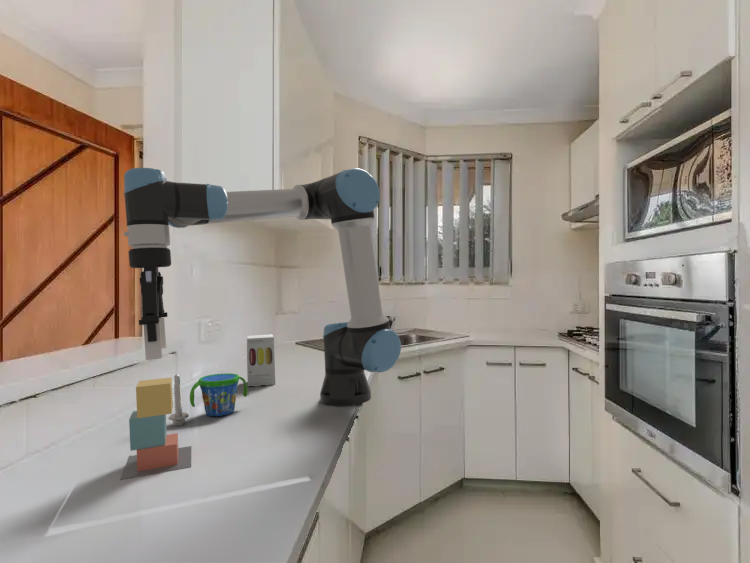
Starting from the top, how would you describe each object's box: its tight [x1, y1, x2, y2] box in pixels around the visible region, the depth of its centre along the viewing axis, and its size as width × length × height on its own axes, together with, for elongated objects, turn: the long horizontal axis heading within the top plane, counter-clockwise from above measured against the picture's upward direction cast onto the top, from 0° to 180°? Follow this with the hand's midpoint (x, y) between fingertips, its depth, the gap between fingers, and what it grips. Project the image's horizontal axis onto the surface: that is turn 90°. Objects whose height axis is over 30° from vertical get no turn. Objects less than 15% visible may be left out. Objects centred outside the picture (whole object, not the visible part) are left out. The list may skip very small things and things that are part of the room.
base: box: [120, 432, 192, 481], centre depth 90 cm, size 12×12×5 cm
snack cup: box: [189, 372, 249, 417], centre depth 124 cm, size 16×10×10 cm
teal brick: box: [128, 410, 168, 452], centre depth 90 cm, size 6×6×6 cm
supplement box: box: [246, 333, 276, 388], centre depth 159 cm, size 10×9×17 cm
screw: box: [168, 374, 190, 427], centre depth 116 cm, size 13×5×5 cm
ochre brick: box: [135, 377, 174, 418], centre depth 90 cm, size 6×6×6 cm
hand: (156, 353), depth 90 cm, fingers open, 13 cm apart
